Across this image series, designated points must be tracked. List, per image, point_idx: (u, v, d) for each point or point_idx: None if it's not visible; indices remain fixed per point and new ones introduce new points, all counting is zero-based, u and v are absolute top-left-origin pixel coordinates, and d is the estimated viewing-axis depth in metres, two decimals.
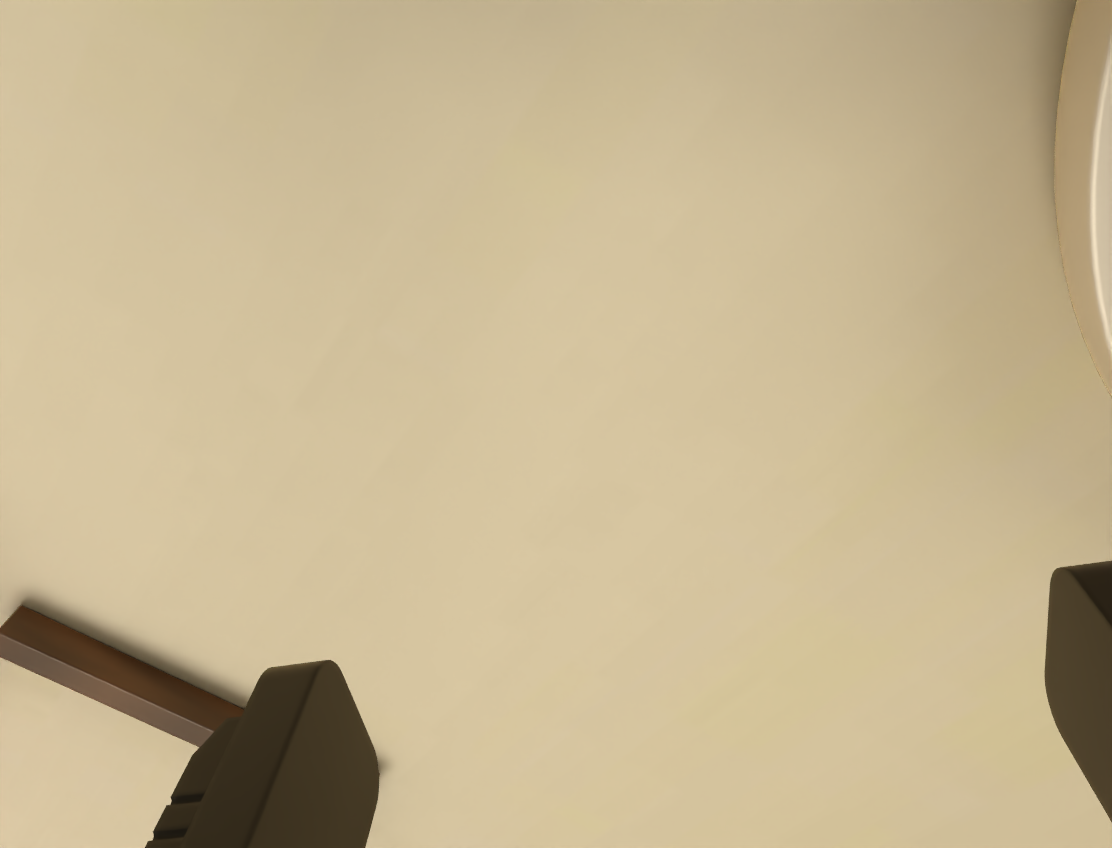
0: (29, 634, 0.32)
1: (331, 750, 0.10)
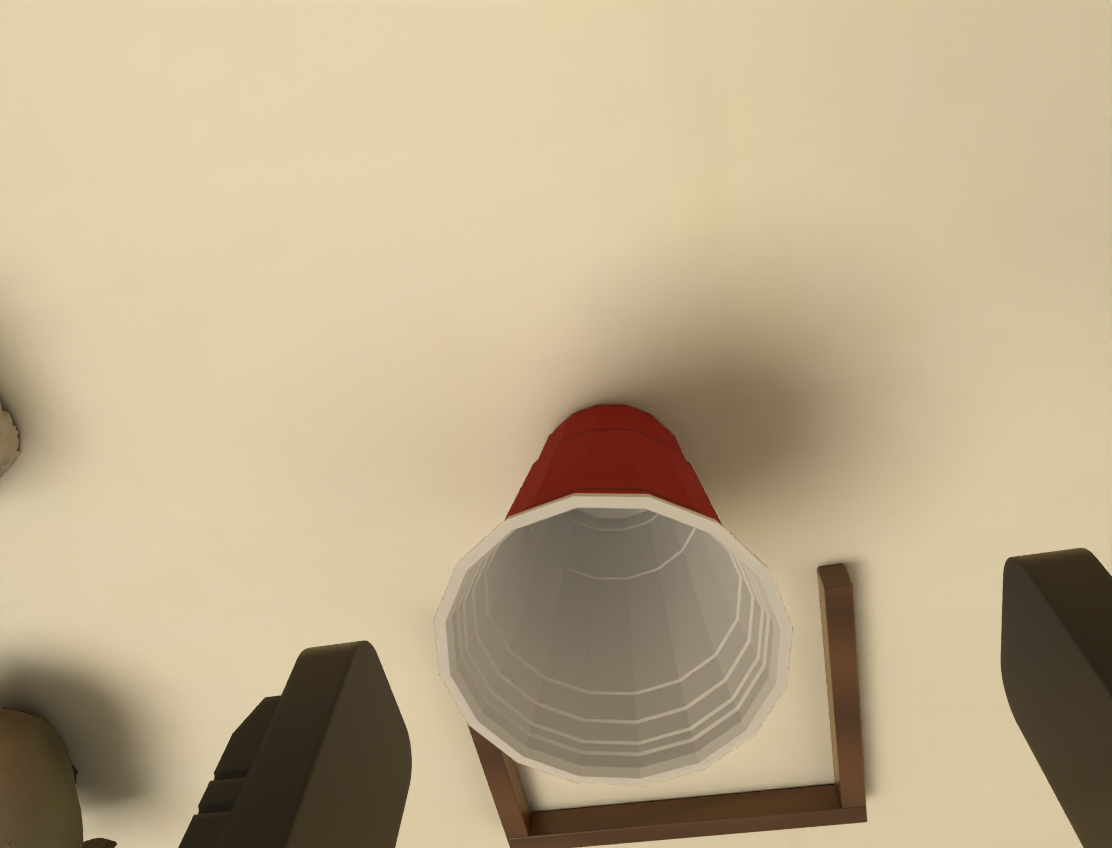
0: None
1: (369, 729, 0.10)
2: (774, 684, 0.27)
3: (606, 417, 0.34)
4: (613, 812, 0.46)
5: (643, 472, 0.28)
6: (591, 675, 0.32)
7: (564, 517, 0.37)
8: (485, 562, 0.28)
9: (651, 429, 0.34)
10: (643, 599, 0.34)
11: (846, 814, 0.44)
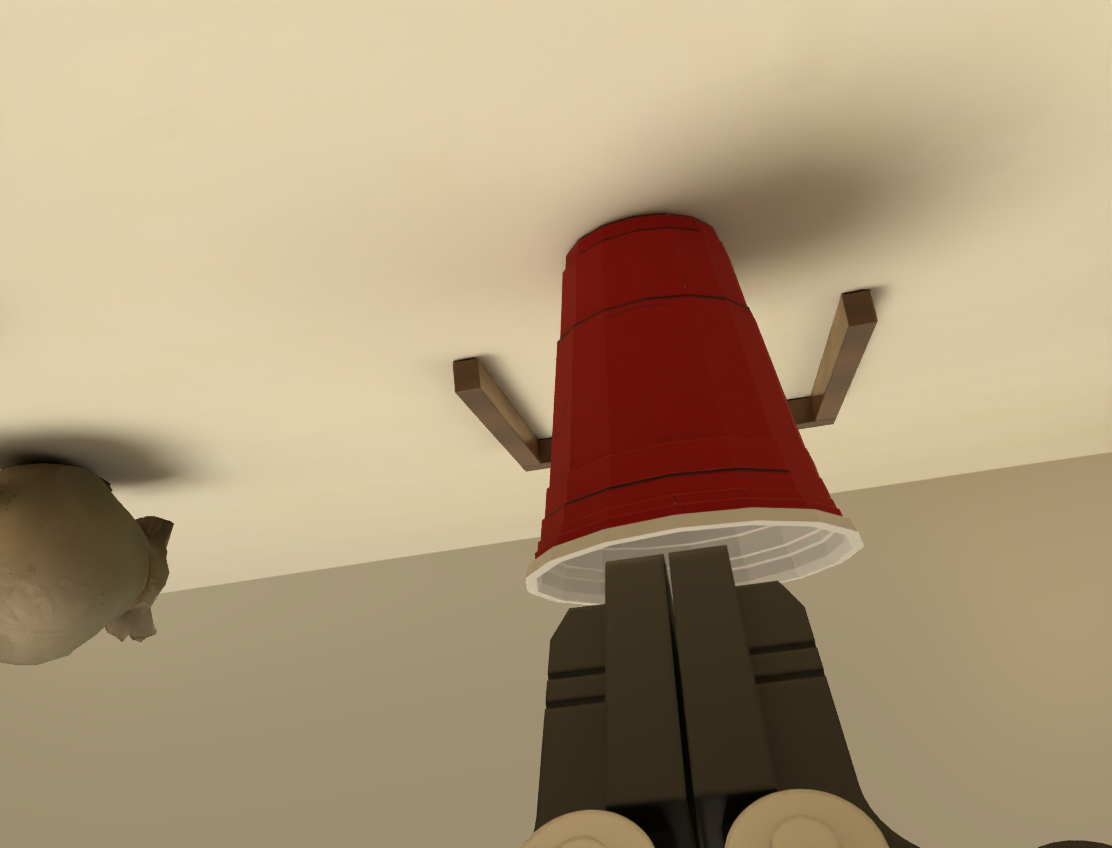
0: None
1: (676, 637, 0.10)
2: (833, 561, 0.30)
3: (653, 259, 0.29)
4: None
5: (723, 408, 0.26)
6: None
7: None
8: None
9: (704, 269, 0.29)
10: None
11: (818, 423, 0.51)
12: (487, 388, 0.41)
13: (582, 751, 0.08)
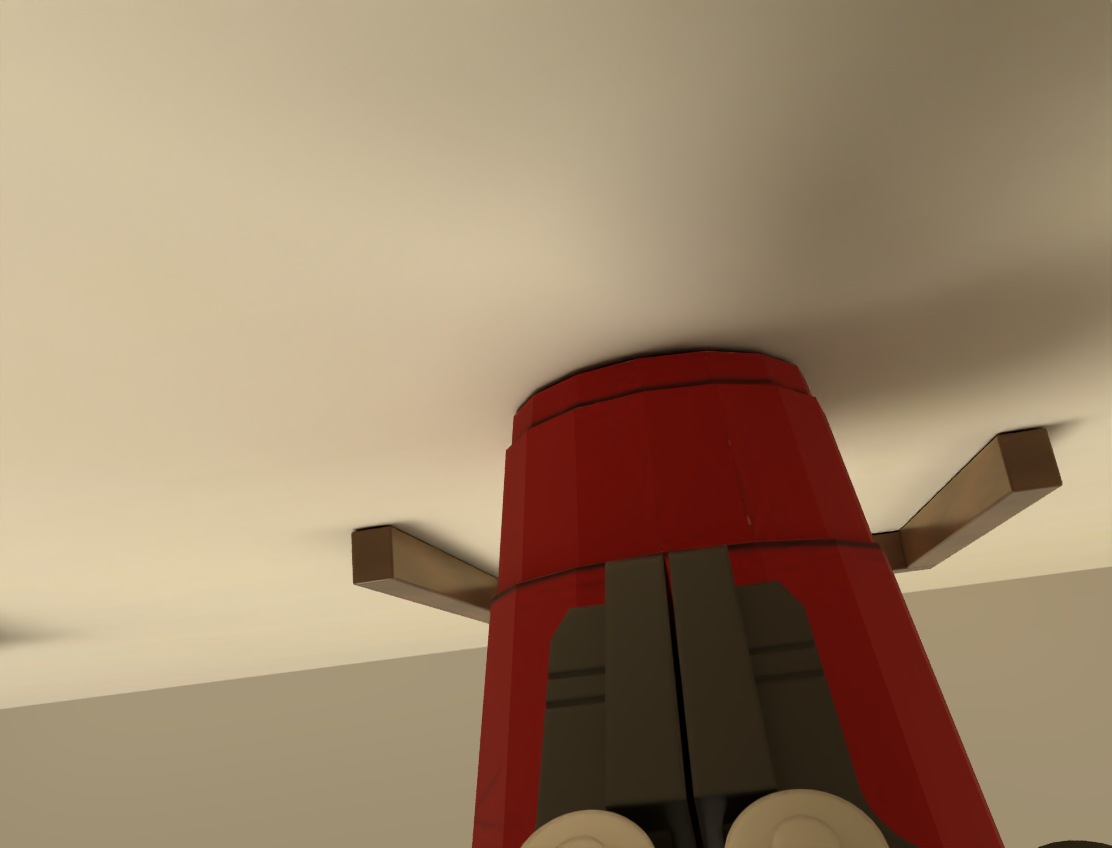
0: None
1: (675, 637, 0.10)
2: None
3: (679, 455, 0.14)
4: None
5: None
6: None
7: None
8: None
9: (788, 472, 0.14)
10: None
11: (910, 569, 0.35)
12: (409, 569, 0.25)
13: (581, 751, 0.08)
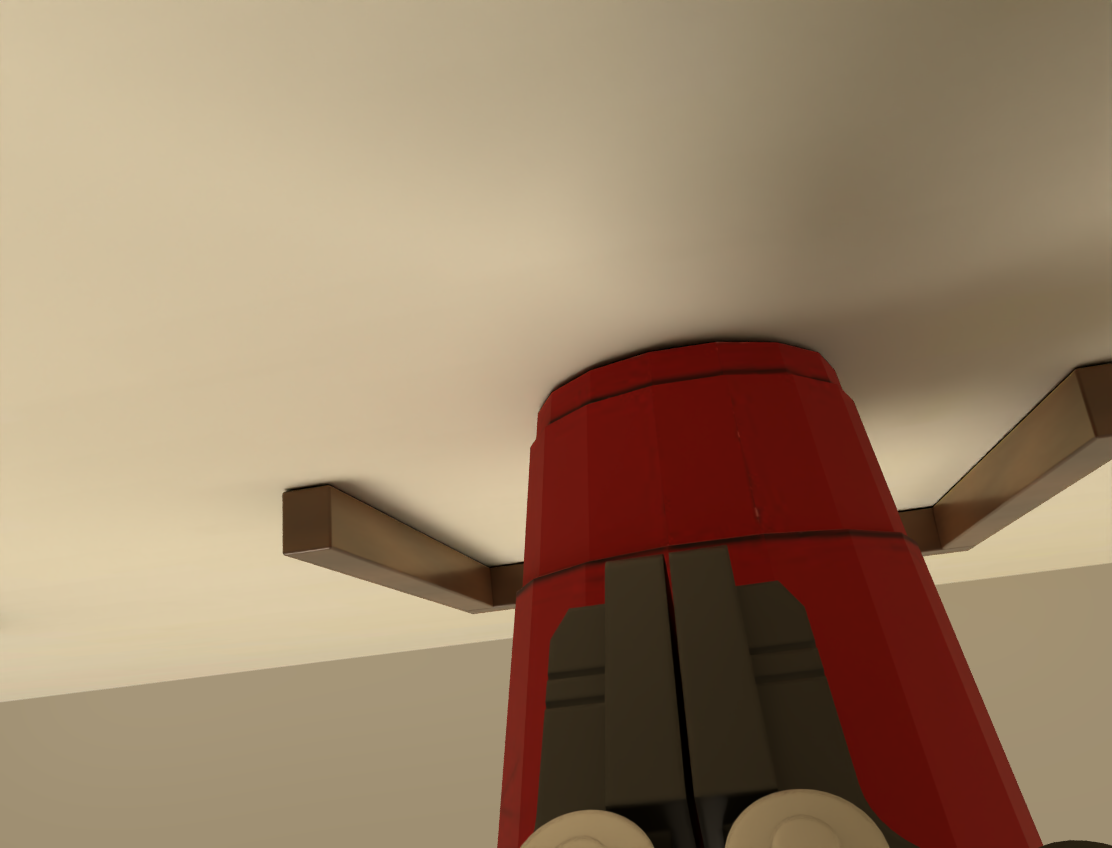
0: None
1: (675, 638, 0.10)
2: None
3: (687, 448, 0.14)
4: None
5: None
6: None
7: None
8: None
9: (801, 462, 0.14)
10: None
11: (944, 550, 0.31)
12: (355, 538, 0.21)
13: (581, 751, 0.08)
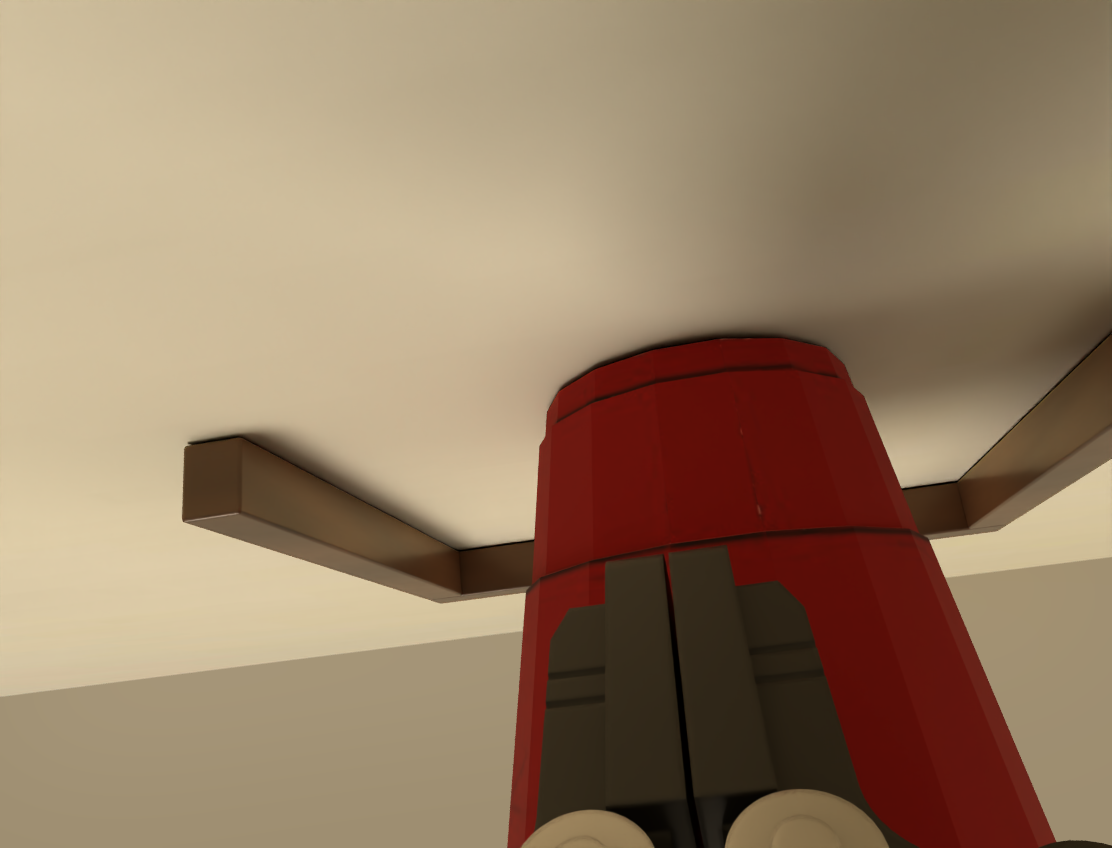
0: None
1: (675, 637, 0.10)
2: None
3: (690, 446, 0.14)
4: None
5: None
6: None
7: None
8: None
9: (805, 459, 0.13)
10: None
11: (971, 531, 0.27)
12: (276, 504, 0.17)
13: (581, 751, 0.08)
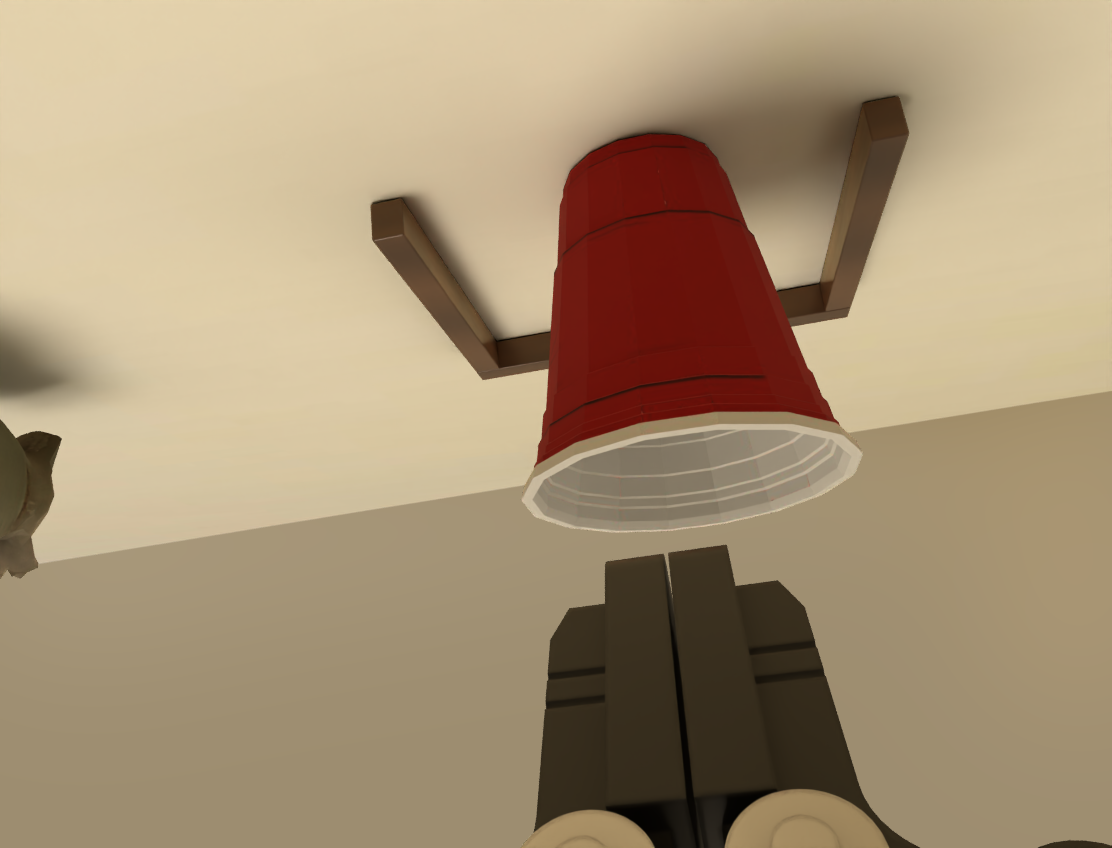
0: None
1: (676, 637, 0.10)
2: (842, 474, 0.29)
3: (634, 179, 0.29)
4: None
5: (698, 318, 0.26)
6: None
7: None
8: None
9: (688, 184, 0.29)
10: None
11: (828, 314, 0.42)
12: (416, 240, 0.32)
13: (581, 752, 0.08)
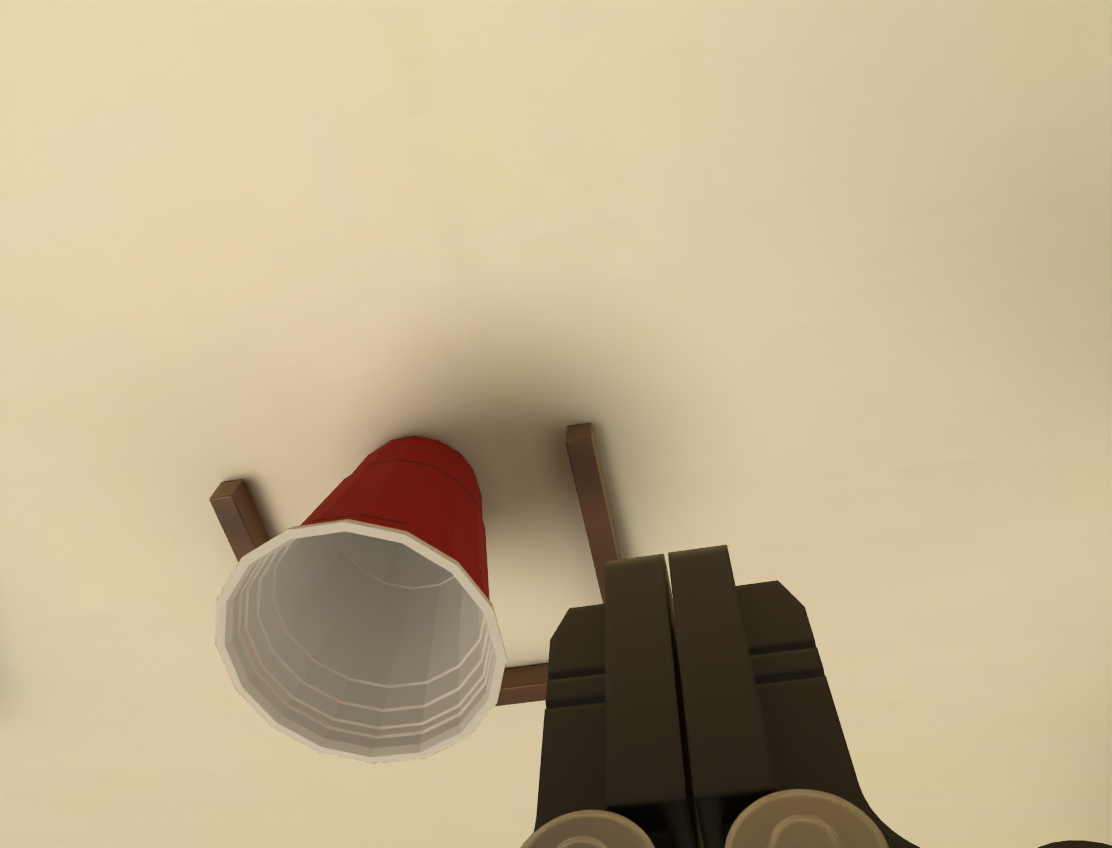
0: (595, 450, 0.40)
1: (676, 637, 0.10)
2: (497, 658, 0.32)
3: (389, 451, 0.39)
4: None
5: (380, 498, 0.34)
6: (394, 672, 0.37)
7: None
8: (259, 591, 0.34)
9: (426, 455, 0.39)
10: (447, 601, 0.40)
11: None
12: (245, 513, 0.42)
13: (582, 751, 0.08)
